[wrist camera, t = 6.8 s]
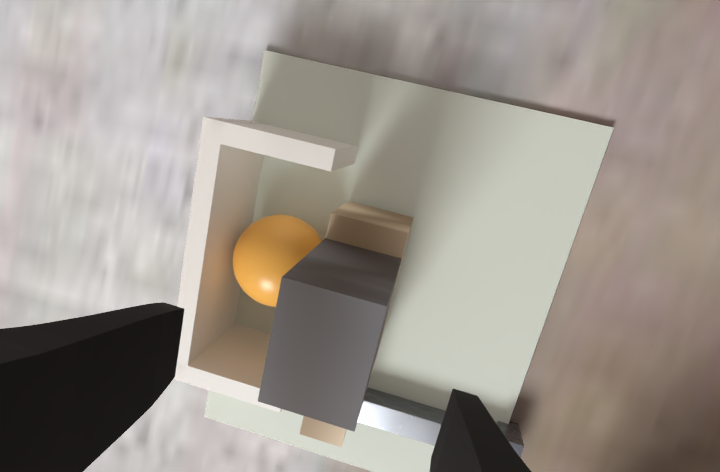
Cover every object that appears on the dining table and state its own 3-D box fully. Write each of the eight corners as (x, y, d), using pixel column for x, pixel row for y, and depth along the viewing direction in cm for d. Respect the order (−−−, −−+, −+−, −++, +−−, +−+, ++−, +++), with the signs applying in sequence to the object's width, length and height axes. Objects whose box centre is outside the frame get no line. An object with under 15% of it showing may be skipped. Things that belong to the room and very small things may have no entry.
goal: (357, 146, 20) (335, 149, 16) (310, 360, 23) (280, 412, 19) (252, 120, 21) (203, 116, 17) (217, 332, 23) (167, 377, 19)
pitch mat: (611, 127, 19) (613, 127, 18) (478, 503, 23) (479, 506, 23) (265, 50, 20) (263, 49, 20) (205, 414, 25) (204, 417, 25)
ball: (280, 233, 17) (222, 202, 19) (261, 331, 18) (208, 289, 20) (353, 230, 20) (295, 203, 22) (334, 314, 21) (280, 279, 23)
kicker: (413, 217, 20) (396, 272, 12) (360, 421, 23) (316, 579, 15) (348, 200, 20) (288, 242, 12) (302, 403, 23) (229, 547, 15)
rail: (518, 424, 22) (524, 446, 20) (506, 455, 22) (512, 479, 21) (282, 353, 23) (271, 369, 22) (276, 384, 24) (265, 401, 22)
